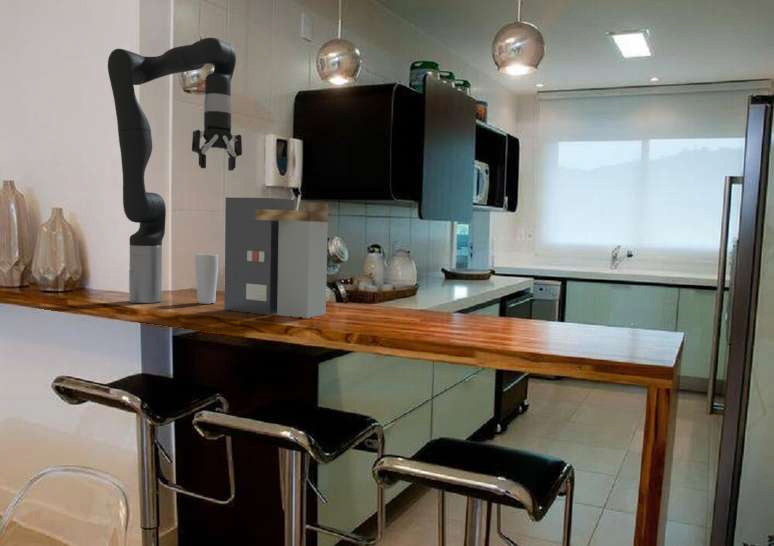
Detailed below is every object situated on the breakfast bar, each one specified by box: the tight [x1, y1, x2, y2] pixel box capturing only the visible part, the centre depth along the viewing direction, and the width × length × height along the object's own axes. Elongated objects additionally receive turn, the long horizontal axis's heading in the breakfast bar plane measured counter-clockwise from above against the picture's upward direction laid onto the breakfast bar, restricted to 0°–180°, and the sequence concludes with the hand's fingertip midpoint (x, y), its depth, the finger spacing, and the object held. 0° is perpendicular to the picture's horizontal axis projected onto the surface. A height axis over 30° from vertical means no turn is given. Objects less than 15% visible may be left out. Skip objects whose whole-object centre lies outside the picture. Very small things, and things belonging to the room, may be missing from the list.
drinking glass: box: [194, 253, 219, 305], centre depth 198 cm, size 7×7×15 cm
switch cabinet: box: [223, 197, 295, 316], centre depth 184 cm, size 16×11×32 cm
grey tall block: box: [276, 220, 329, 319], centre depth 179 cm, size 10×9×26 cm
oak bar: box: [255, 202, 329, 222], centre depth 175 cm, size 19×5×5 cm, turn 111°
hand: (217, 169), depth 185 cm, fingers open, 8 cm apart
